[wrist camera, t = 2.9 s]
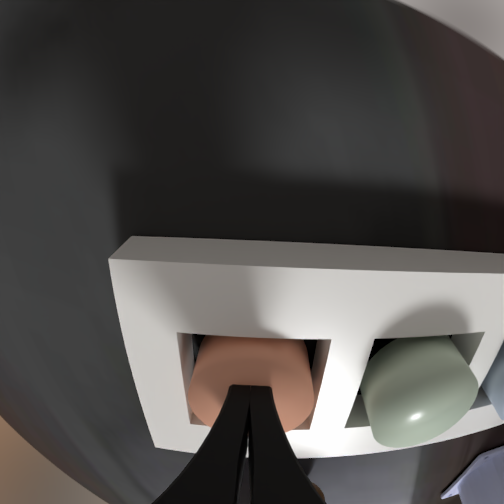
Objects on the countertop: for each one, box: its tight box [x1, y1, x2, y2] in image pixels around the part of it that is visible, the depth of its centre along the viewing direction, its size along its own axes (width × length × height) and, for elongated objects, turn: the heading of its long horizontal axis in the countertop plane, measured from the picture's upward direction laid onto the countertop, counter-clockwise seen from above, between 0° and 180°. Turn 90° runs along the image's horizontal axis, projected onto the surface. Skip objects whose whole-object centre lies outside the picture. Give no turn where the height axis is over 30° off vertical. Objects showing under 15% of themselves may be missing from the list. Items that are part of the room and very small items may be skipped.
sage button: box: [360, 335, 479, 448], centre depth 11 cm, size 4×4×2 cm
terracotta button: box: [188, 335, 314, 433], centre depth 12 cm, size 4×4×2 cm
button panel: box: [108, 236, 504, 458], centre depth 12 cm, size 22×10×2 cm, turn 88°
